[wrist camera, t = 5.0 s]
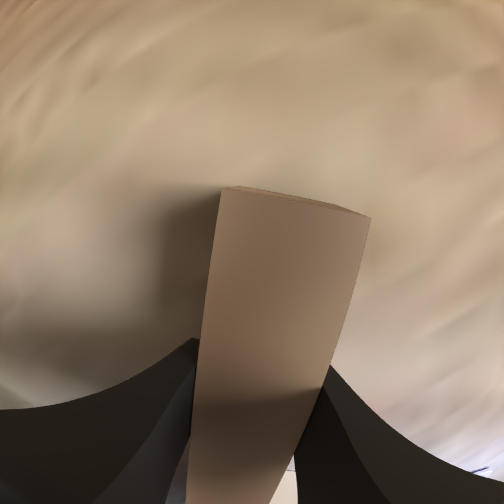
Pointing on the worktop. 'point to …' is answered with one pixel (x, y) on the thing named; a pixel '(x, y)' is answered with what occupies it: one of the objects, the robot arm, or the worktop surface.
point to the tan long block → (266, 337)
